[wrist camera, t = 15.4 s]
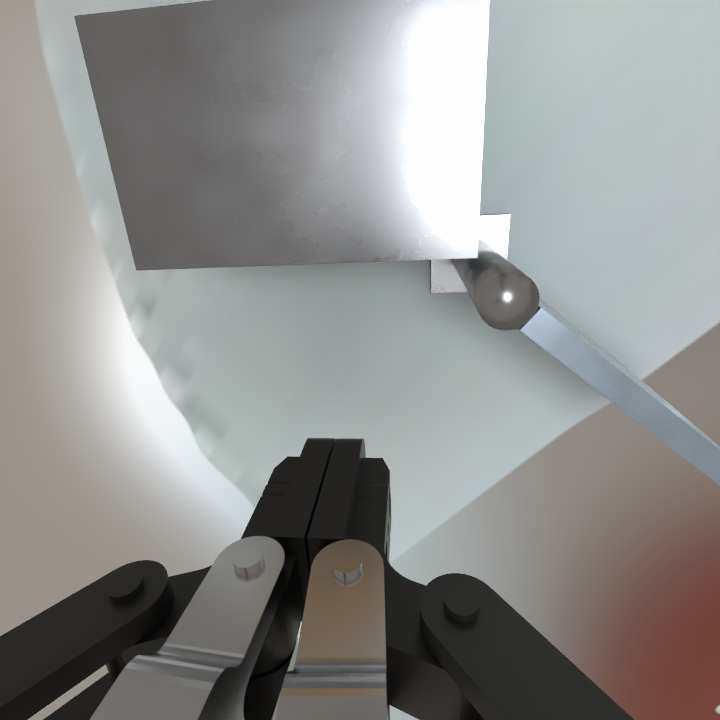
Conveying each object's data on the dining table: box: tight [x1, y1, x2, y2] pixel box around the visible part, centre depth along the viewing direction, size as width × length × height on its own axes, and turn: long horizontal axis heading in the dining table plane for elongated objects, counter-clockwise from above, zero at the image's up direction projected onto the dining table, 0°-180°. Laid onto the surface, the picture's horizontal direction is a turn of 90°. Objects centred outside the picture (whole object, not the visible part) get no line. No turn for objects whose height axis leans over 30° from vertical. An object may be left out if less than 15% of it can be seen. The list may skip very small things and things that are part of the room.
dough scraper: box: [452, 239, 720, 485], centre depth 24 cm, size 16×2×12 cm, turn 54°
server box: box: [74, 0, 510, 293], centre depth 24 cm, size 20×14×11 cm
